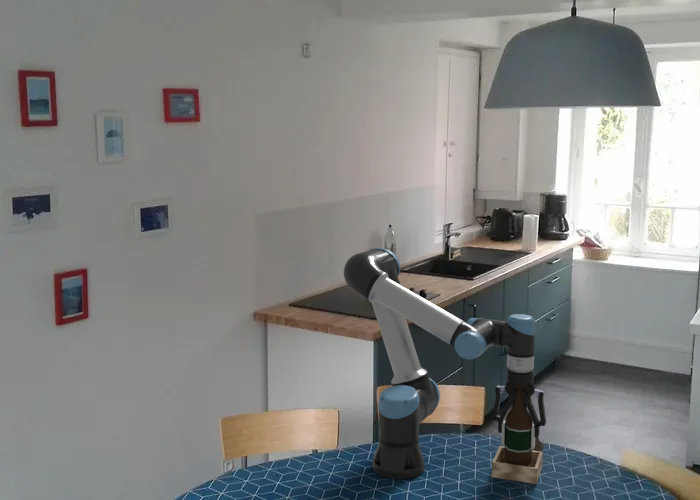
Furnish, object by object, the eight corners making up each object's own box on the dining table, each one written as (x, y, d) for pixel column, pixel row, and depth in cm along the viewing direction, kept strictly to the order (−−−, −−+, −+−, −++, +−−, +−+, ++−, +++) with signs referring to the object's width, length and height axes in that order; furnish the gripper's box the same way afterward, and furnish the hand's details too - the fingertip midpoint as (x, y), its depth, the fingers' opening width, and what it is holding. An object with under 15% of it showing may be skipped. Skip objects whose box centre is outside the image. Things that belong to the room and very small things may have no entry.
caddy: (491, 477, 213) (492, 462, 212) (499, 459, 224) (499, 445, 224) (536, 484, 208) (537, 469, 208) (542, 466, 220) (542, 451, 219)
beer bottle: (532, 468, 212) (534, 387, 208) (504, 466, 213) (506, 385, 210) (531, 457, 219) (533, 378, 216) (504, 455, 221) (506, 377, 217)
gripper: (481, 369, 212) (480, 445, 215) (556, 376, 205) (553, 455, 208) (486, 361, 219) (485, 436, 222) (558, 369, 212) (556, 445, 215)
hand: (518, 445), depth 215 cm, fingers closed on beer bottle, 8 cm apart
